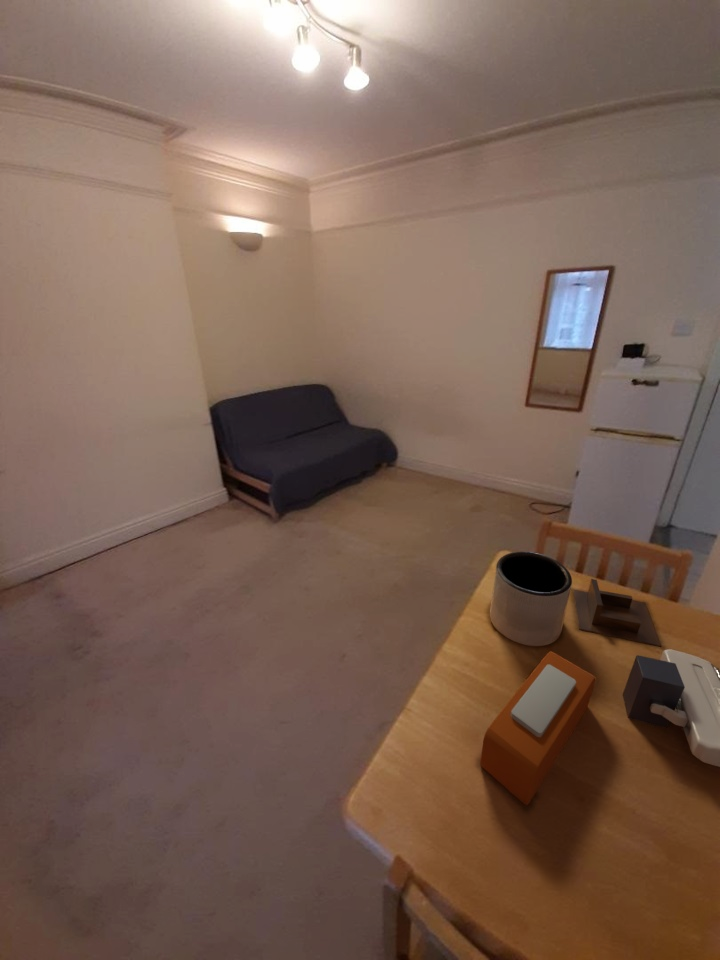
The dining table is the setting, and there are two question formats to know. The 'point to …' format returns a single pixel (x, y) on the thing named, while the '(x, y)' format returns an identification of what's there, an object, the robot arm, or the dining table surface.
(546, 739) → the alarm clock
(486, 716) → the dining table surface
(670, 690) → the dark grey block
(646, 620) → the brown holder on base
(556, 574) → the planter
